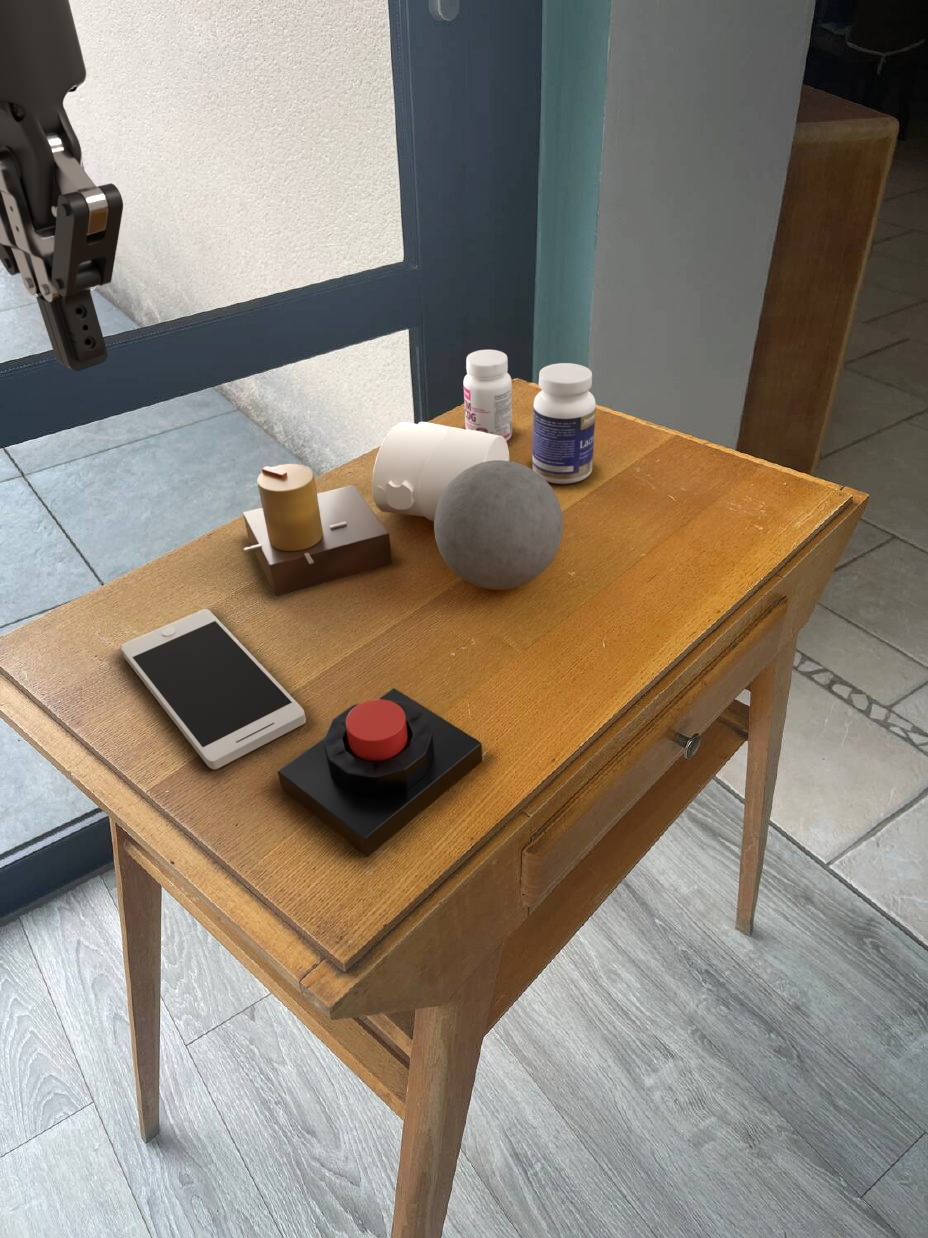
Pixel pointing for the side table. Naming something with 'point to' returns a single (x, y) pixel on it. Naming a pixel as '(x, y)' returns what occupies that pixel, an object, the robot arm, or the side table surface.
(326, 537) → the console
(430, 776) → the button box
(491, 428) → the pill bottle
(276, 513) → the knob
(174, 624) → the smartphone
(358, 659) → the side table surface
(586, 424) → the pill bottle
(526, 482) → the decorative ball
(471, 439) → the mug
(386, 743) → the button
